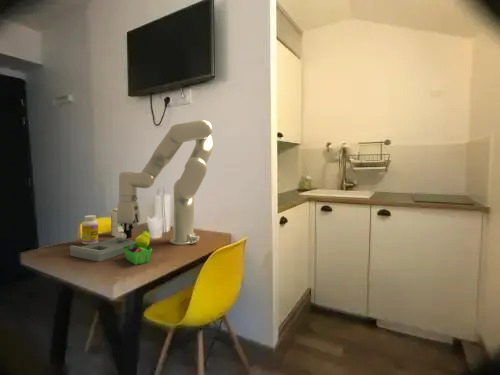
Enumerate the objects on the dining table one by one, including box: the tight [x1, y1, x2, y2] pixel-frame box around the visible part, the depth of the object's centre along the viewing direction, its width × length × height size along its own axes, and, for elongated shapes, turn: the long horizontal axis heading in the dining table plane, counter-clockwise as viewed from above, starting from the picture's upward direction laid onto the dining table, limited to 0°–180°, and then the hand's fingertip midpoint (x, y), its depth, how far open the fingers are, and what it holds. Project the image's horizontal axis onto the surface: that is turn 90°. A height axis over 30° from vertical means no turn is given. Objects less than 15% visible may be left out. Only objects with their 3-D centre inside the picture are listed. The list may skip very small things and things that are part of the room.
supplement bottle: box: [81, 214, 99, 245], centre depth 134 cm, size 7×7×13 cm
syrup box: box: [110, 207, 124, 237], centre depth 149 cm, size 6×6×14 cm
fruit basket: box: [123, 230, 153, 266], centre depth 111 cm, size 11×9×11 cm
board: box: [69, 237, 136, 262], centre depth 122 cm, size 16×22×4 cm
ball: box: [114, 231, 127, 242], centre depth 128 cm, size 5×5×5 cm
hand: (127, 237), depth 132 cm, fingers closed
